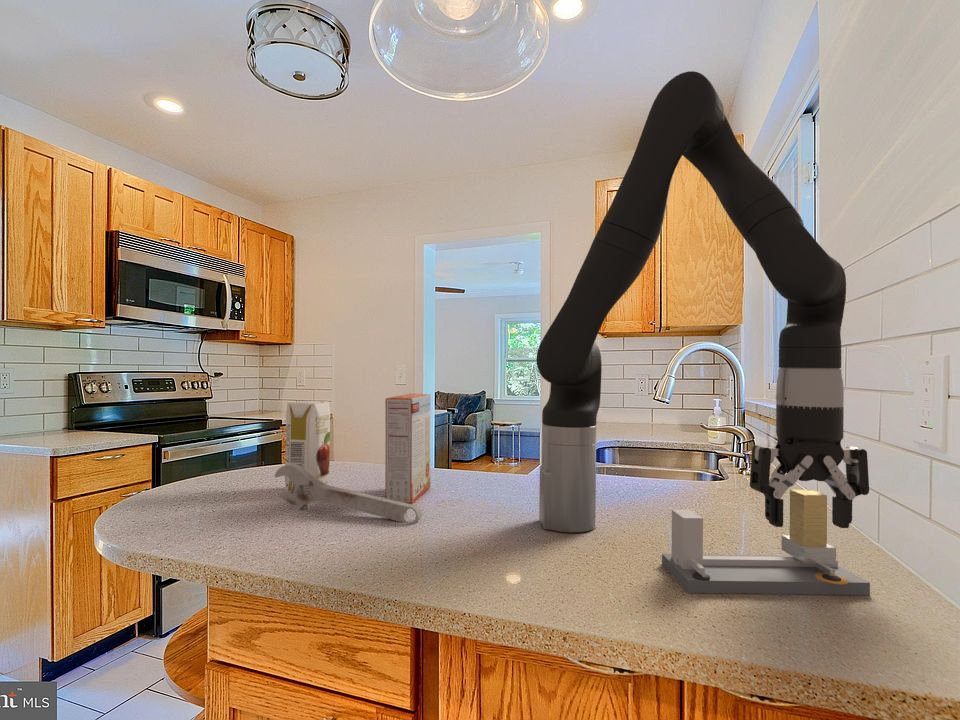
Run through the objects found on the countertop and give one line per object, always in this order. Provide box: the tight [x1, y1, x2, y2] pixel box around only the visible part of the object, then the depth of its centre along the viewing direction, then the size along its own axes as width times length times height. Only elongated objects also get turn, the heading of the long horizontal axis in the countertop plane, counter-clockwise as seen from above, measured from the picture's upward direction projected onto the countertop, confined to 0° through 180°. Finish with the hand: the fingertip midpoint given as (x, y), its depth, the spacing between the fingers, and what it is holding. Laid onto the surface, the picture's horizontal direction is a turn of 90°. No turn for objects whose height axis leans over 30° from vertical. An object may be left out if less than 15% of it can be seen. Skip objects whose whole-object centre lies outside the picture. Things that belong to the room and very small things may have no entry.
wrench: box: [274, 464, 422, 524], centre depth 94 cm, size 8×2×30 cm
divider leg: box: [781, 489, 837, 576], centre depth 67 cm, size 4×7×9 cm, turn 0°
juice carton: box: [284, 400, 331, 492], centre depth 111 cm, size 8×9×19 cm
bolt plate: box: [661, 509, 871, 596], centre depth 67 cm, size 22×10×8 cm, turn 90°
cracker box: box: [384, 393, 431, 505], centre depth 108 cm, size 14×6×21 cm, turn 170°
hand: (808, 526), depth 68 cm, fingers open, 8 cm apart
